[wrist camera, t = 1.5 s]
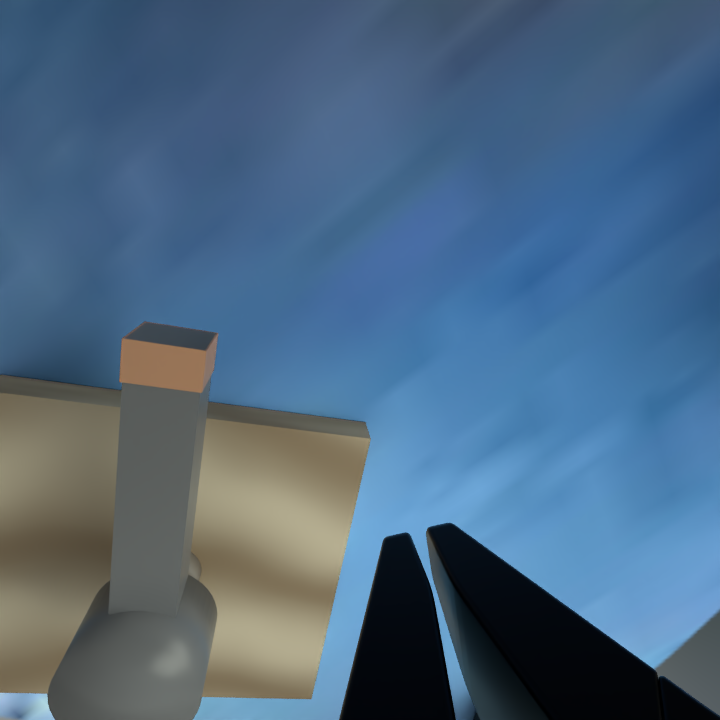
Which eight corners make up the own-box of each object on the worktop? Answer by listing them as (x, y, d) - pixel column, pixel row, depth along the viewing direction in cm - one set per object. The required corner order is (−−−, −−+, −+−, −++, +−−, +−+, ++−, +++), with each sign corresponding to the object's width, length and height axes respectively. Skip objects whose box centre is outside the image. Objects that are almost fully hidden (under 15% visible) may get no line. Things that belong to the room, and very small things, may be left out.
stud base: (310, 669, 24) (312, 744, 20) (6, 659, 21) (-47, 742, 18) (365, 422, 20) (378, 464, 17) (1, 374, 17) (-69, 413, 14)
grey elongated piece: (210, 664, 18) (194, 749, 15) (88, 659, 17) (47, 748, 14) (256, 338, 14) (246, 370, 12) (103, 314, 14) (52, 342, 11)
